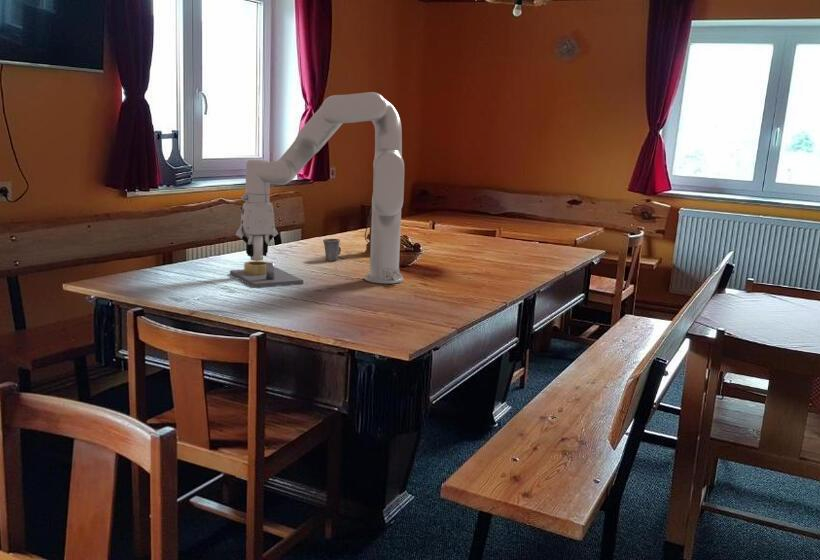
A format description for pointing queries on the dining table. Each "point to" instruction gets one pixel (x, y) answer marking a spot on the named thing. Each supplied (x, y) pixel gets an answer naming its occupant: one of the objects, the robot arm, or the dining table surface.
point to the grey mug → (332, 249)
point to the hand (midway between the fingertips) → (256, 255)
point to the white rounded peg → (257, 247)
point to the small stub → (270, 271)
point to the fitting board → (261, 280)
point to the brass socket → (255, 267)
